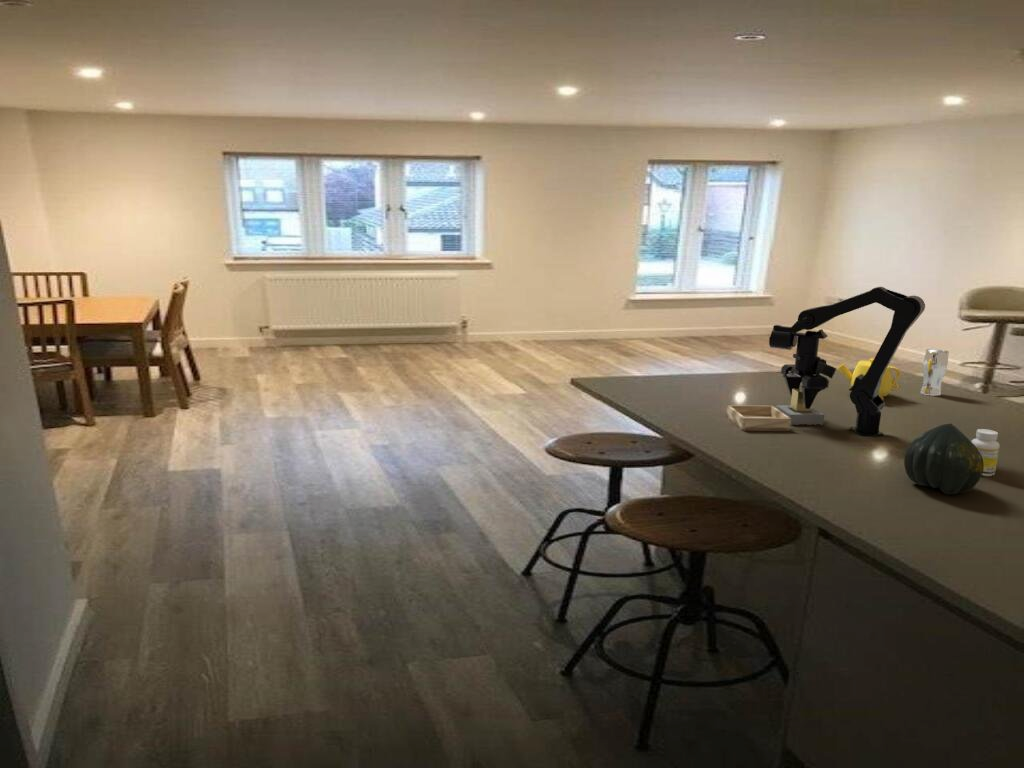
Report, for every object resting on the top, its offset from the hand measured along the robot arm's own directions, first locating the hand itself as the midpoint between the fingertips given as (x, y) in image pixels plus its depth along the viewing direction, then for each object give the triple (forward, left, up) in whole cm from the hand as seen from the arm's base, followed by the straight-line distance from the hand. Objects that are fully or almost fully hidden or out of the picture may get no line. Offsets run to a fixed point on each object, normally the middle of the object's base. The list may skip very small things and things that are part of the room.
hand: (800, 404), depth 207 cm
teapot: (+30, -36, -5) cm, 47 cm away
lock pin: (0, 0, -5) cm, 5 cm away
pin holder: (0, 0, -5) cm, 5 cm away
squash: (-52, -9, -5) cm, 53 cm away
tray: (-4, +14, -5) cm, 15 cm away
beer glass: (+32, -60, -5) cm, 68 cm away
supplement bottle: (-43, -25, -5) cm, 50 cm away
